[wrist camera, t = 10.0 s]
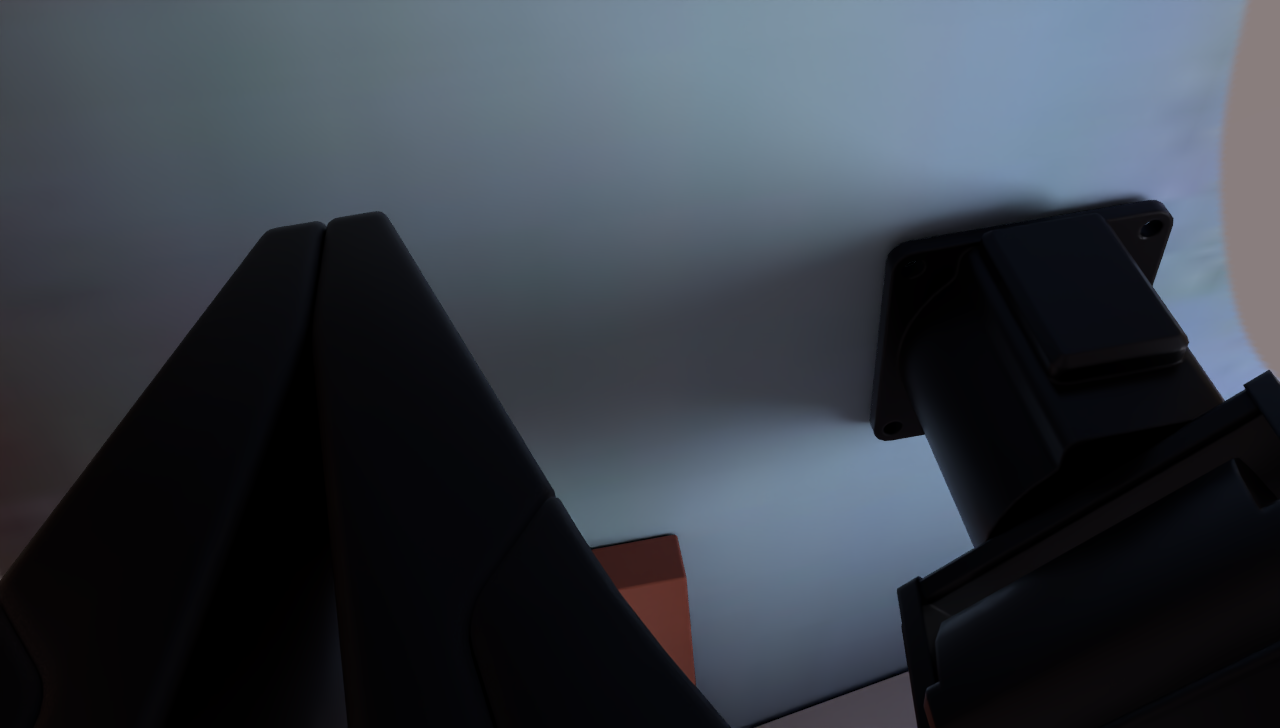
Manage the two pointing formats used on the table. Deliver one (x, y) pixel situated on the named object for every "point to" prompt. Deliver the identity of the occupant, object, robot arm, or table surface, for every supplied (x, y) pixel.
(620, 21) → the table surface
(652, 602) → the reddish brown box
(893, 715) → the game console
